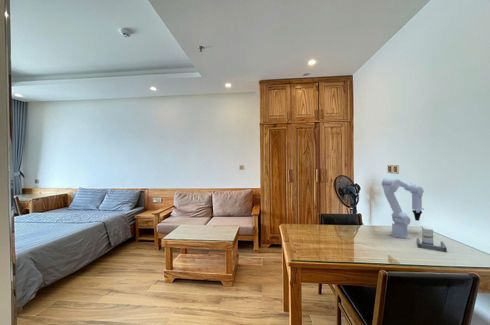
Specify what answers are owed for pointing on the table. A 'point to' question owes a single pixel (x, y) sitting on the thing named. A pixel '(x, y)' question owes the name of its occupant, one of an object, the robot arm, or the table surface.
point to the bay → (432, 246)
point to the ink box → (427, 235)
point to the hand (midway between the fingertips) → (417, 220)
